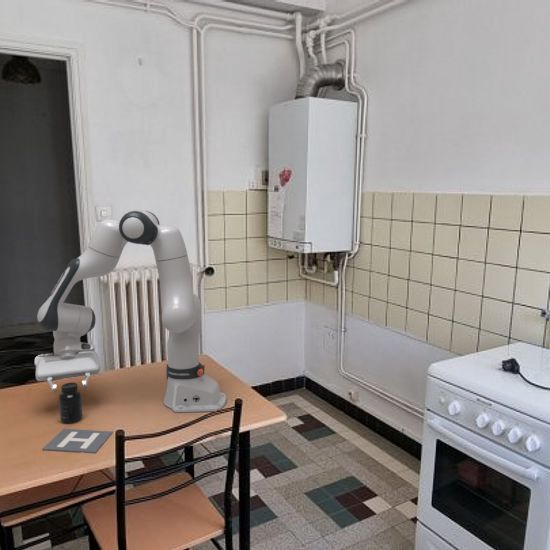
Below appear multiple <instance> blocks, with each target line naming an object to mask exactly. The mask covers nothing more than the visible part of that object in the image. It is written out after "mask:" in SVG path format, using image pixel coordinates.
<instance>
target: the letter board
mask: <svg viewBox="0 0 550 550" xmlns="http://www.w3.org/2000/svg"><path fill="white" fill-rule="evenodd" d="M113 433H114V432H113V431H111V430H110V431H107V430H93V429H92V430H91V429H87V430H86V429H74V428H63V429H61V431H59V432H58V433H57V434H56V435H55V436H54V437H53V438H52V439H51V440H50V441H49V442H48V443H47V444H45V445H44V446H43V447H42V448H41V450H42V451H48V452H51V451H53V452H67V453H81V452H84V453H85V454H97V452H98V451H99V450H100V449H101V448H102V446H103V445H104V444H105V443H106V442H107V440H108V439H109V438H110V437H111V435H112V434H113ZM109 436H110V437H109ZM104 442H105V443H104ZM99 448H100V449H99ZM98 449H99V450H98ZM97 450H98V451H97Z"/></svg>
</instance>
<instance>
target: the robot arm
mask: <svg viewBox="0 0 550 550" xmlns="http://www.w3.org/2000/svg"><path fill="white" fill-rule="evenodd" d="M184 240H185V239H184V238H183V234H182V232H181V231H180V229H179V227H176V226H173V225H161V223H160V221H159V219H158V217H157V215H156V214H154V213H153V212H151V211H148V210H143V209H138V210H137V209H136V210H131V211H128V212H127V213H125V214H124V215H122V217H121V219H120V221H119V220H115V219H111V218H107V219H106V218H105V219H103V220H101V221H99V223H98V224H97V226H96V228H95V230H94V231H93V233H92V235H91V237H90V239H89V242H88V244H87V247H86V249H85V250H84V251H83V253H82V254H80V255H79V256H78V257H76V258H73V259H72V260H71V261H70V262H69V263H68V264H67V265H66V267H65V269H64V270H63V271H62V273H61V275H60V276H59V278H58V280H57V282H56V283H55V285H54V286H53V289H52V290H51V291H50V293H49V295H48V296H47V298H46V299H45V301H44V302H43V303H42V304H41V306H40V307H39V309H38V311H37V315H36V321H37V323H38V325H39V327H41V328H42V329H43V330H44V331H46V332H52V333H53V334H52V336H53V338H54V341H53V352H51V353H50V352H49V353H41V354H38V355H37V356H36V357H35V358H34V366H35V380H36V381H38V382H44V381H47V383H48V385H49V387H51V392H52V393H53V392H57V384H55V383H53V380H60V379H62V380H63V379H67V378H69V379H70V378H75V377H77V378H78V377H84V376H85V380H82V381H81V384H82V388H87V387H88V381H89V379H91V375H92V376H93V375H98V374H99V373H100V372H101V363H100V358H99V356H98V353H97V352H96V348H95V344H92V343H88V342H87V343H86V342H83V341H82V342H81V337H82V336H85V335H87V334H88V333H89V332H91V331H92V330H93V329H94V328H95V326H96V320H97V319H96V314H95V311H94V310H93V309H92V308H91V307H90V306H85V305H80V304H73V303H68V302H67V303H66V302H65V300H66V299H67V297H68V295H69V294H70V292H71V290H72V289H73V287H74V286H75V284H77V283H78V282H80V281H82V280H86V279H91V278H97V277H103V276H106V275H109V274H110V273H112V272H114V270H115V269H116V267H117V266H118V263H119V261H120V258H121V255H122V252H123V250H124V248H125V246H126V245H127V244H128V243H131V244H133V245H134V244H135V245H145V246H150V247H151V248H152V251H153V255H154V261H155V265H156V269H157V275H158V279H159V284H160V287H159V288H160V301H161V302H160V303H161V313H162V314H161V323H162V325H163V327H164V328H165V329H166V330H167V332H168V338H167V343H166V345H167V346H166V347H167V348H166V349H167V351H166V353H167V364H166V368H165V375H166V380H167V383H166V391H165V395H164V399H163V405H164V406H166V407H167V408H169V409H171V410H172V411H173V412H174V413H195V412H196V413H199V412H218V411H219V410H222V409H223V407H225V405H226V404H227V394H225V392H221V387H220V384H219V382H218V381H217V380H215V379H214V378H212V377H211V376H209V374H207V373H206V372H205V367H206V366H205V363H203V364H202V363H201V362H200V350H199V349H200V333H201V322H202V321H201V320H202V319H201V318H202V302H201V300H200V298H199V296H198V295H197V294H195V293H193V276H192V270H191V265H190V259H189V256H188V252H187V247H186V244H185V241H184ZM217 410H218V411H217Z"/></svg>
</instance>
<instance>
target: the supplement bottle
mask: <svg viewBox="0 0 550 550" xmlns="http://www.w3.org/2000/svg"><path fill="white" fill-rule="evenodd" d="M60 389H61V393H60V394H59V395H58V406H59V407H58V408H59V418H60V422H61V423H63V424H64V425H65V424H67V425H68V424H69V425H71V424H75V423H78V422H79V421H81V420H82V419H83V417H84V415H83V413H84V412H83V402H82V401H83V400H82V392H81V391H79V390H78V384H77V383H76V382H67V383H64V384H62V385H61V387H60Z"/></svg>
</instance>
